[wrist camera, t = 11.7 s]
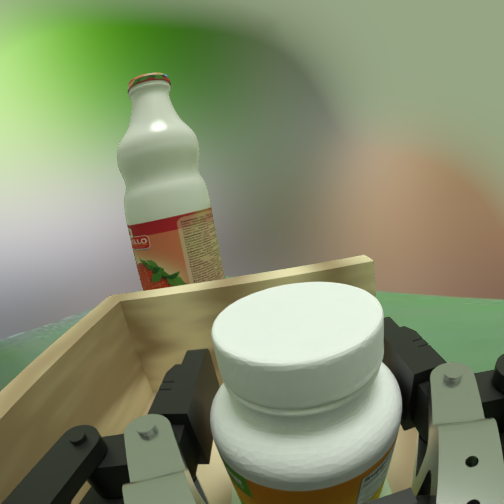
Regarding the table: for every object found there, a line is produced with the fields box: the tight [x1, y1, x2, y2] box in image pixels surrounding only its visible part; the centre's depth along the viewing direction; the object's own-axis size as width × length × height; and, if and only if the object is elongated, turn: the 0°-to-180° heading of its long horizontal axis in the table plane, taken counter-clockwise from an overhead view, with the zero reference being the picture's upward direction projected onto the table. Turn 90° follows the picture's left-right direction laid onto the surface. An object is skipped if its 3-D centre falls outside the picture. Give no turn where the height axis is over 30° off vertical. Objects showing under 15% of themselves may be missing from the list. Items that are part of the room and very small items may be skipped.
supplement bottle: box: [210, 282, 402, 504], centre depth 8 cm, size 5×5×10 cm
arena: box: [0, 255, 418, 504], centre depth 11 cm, size 18×18×8 cm
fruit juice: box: [117, 73, 225, 291], centre depth 31 cm, size 9×9×28 cm
